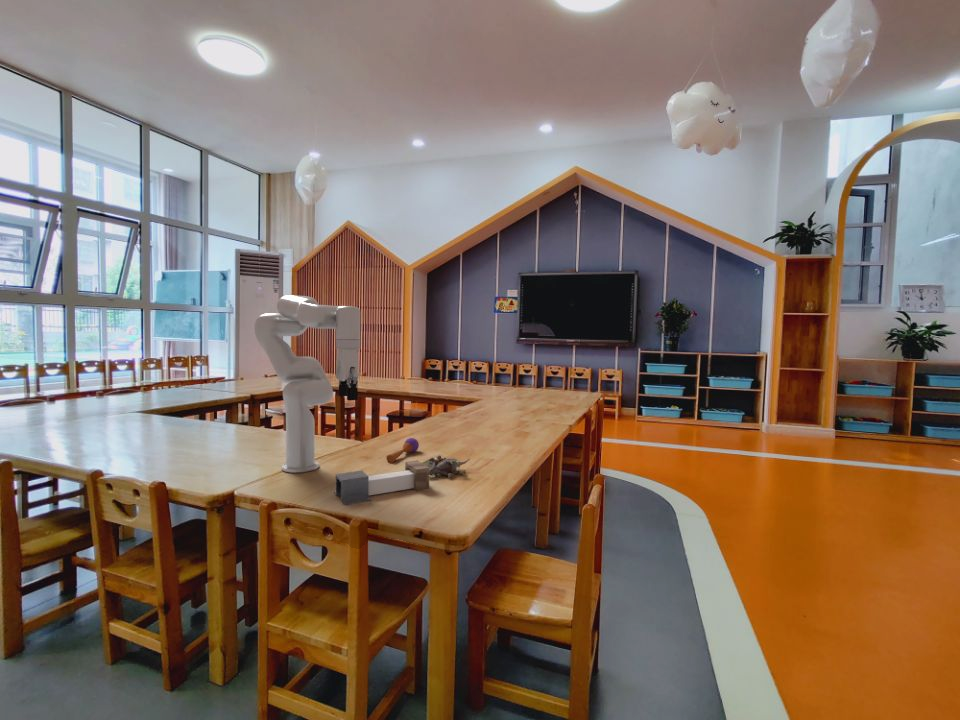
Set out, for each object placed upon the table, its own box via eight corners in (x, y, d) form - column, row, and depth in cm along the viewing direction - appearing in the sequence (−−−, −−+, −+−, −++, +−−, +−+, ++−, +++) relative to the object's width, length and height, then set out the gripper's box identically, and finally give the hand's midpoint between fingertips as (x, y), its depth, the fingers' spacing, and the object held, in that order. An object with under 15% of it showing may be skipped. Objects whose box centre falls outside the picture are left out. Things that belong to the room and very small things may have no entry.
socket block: (405, 482, 157) (405, 462, 156) (417, 480, 159) (417, 460, 159) (416, 491, 149) (416, 469, 149) (429, 489, 151) (429, 467, 151)
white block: (360, 492, 147) (360, 476, 146) (414, 483, 156) (414, 468, 156) (364, 496, 143) (364, 481, 143) (419, 487, 152) (420, 472, 152)
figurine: (432, 469, 156) (403, 458, 168) (433, 486, 157) (403, 475, 169) (476, 454, 170) (446, 446, 182) (477, 471, 170) (446, 461, 183)
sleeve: (333, 492, 146) (333, 471, 146) (359, 488, 150) (359, 468, 150) (343, 505, 136) (343, 482, 136) (370, 500, 140) (371, 478, 140)
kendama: (382, 451, 181) (407, 436, 199) (385, 467, 181) (409, 450, 200) (395, 450, 178) (419, 435, 197) (398, 466, 179) (422, 449, 198)
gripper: (329, 343, 157) (329, 395, 158) (343, 346, 142) (343, 402, 143) (352, 343, 161) (351, 394, 162) (368, 346, 146) (367, 401, 147)
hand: (347, 398), depth 153 cm, fingers open, 9 cm apart
